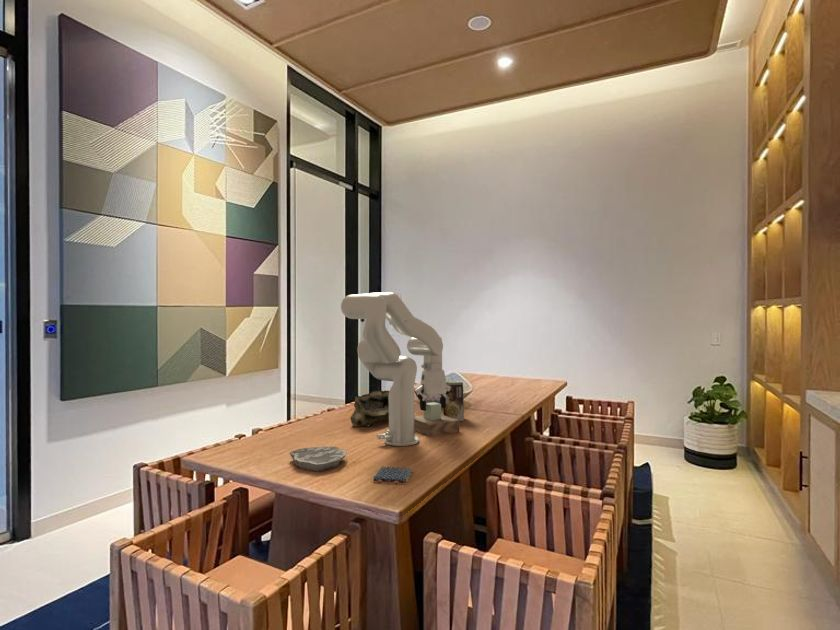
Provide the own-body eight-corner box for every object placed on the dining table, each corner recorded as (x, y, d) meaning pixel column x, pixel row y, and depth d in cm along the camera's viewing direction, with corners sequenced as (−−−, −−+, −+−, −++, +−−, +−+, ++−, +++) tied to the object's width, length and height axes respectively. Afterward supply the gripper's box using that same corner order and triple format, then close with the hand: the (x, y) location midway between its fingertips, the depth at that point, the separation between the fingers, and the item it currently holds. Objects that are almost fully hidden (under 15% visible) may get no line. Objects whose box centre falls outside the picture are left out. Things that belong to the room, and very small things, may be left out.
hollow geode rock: (395, 425, 224) (379, 400, 230) (411, 409, 218) (394, 383, 225) (351, 436, 202) (334, 407, 208) (367, 418, 196) (350, 389, 203)
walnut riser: (430, 437, 186) (429, 424, 186) (408, 429, 199) (408, 417, 199) (459, 432, 193) (459, 420, 193) (436, 424, 207) (436, 413, 207)
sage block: (431, 420, 193) (431, 405, 193) (424, 418, 197) (423, 403, 197) (441, 418, 196) (441, 403, 196) (433, 416, 200) (433, 402, 200)
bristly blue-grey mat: (370, 484, 136) (370, 477, 136) (380, 472, 147) (380, 465, 147) (407, 486, 134) (407, 479, 134) (414, 474, 145) (414, 467, 145)
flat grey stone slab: (359, 463, 154) (359, 454, 154) (313, 477, 142) (313, 466, 142) (325, 451, 168) (325, 442, 168) (280, 462, 156) (280, 453, 156)
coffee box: (464, 418, 217) (463, 382, 217) (463, 421, 211) (463, 384, 211) (443, 417, 218) (443, 381, 218) (442, 421, 212) (442, 384, 212)
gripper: (420, 368, 188) (420, 413, 188) (455, 366, 198) (455, 408, 198) (409, 367, 194) (410, 409, 194) (444, 364, 204) (444, 405, 204)
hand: (433, 408), depth 196 cm, fingers open, 9 cm apart
